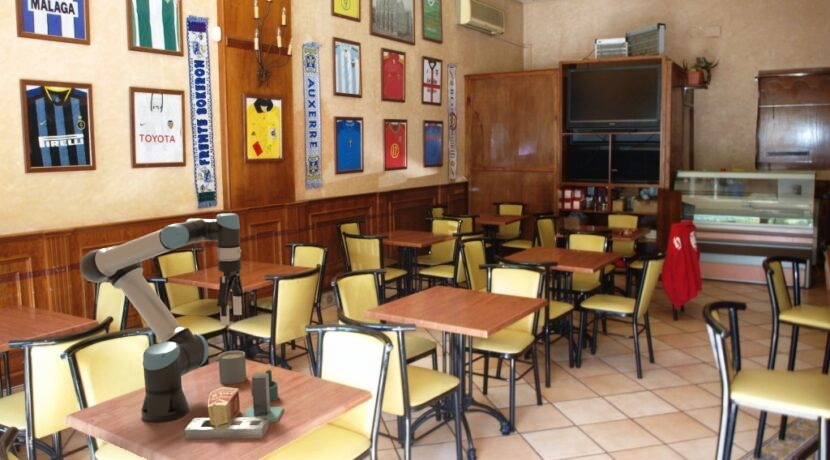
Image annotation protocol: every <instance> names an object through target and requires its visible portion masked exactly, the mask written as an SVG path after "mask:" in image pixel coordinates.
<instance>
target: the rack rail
mask: <svg viewBox="0 0 830 460" xmlns="http://www.w3.org/2000/svg"><path fill="white" fill-rule="evenodd" d="M269 426H270V425H269V422H268V417H243V418H242V417H234V418H230V419H229V421H228V422H227V423H224V424H221V425H218V426H217V428H216V425H212V424H211V423H210V419H209V417H194V418H192V420H191V421H190V422H189V424H188V425H186V427H185V428H184V431H183V432H184V439H186V440H193V439H194V440H196V439H197V440H198V439H201V440H202V439H204V440H205V439H209V440H211V439H262V438H263V436H264V435H265V433H266V431H267V430H268V428H269Z"/></svg>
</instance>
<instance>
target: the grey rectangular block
mask: <svg viewBox="0 0 830 460" xmlns="http://www.w3.org/2000/svg"><path fill="white" fill-rule="evenodd" d="M251 384H252V385H251V386H252V387H251V388H252V390H253V396H252V405H253V406H252V407H253V409H254V416H267V415H268V414H269V412H270V407H271V402H270V395H269V375H268V373H266V372H261V373H260V372H259V373H256V372H255V373H254V374H253V376H252V377H251Z"/></svg>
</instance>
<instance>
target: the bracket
mask: <svg viewBox="0 0 830 460" xmlns="http://www.w3.org/2000/svg"><path fill="white" fill-rule="evenodd" d="M265 373H268V375H269V395H270V403H272V402H275V401H276V400H278V399H279V393H278V392H279V391H278V389H279V388H278V382H277V381H275V380H274V381H273V377H272V376H273V375H272V370H271V369H267V370H266V371H265ZM250 388H251V397H253V390H252V387H250Z"/></svg>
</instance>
